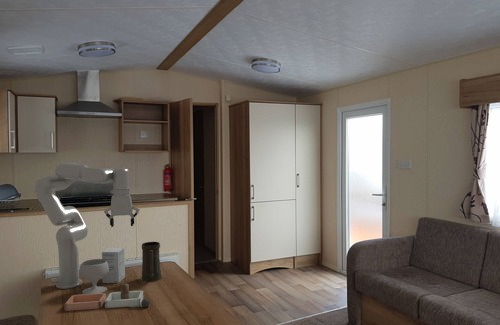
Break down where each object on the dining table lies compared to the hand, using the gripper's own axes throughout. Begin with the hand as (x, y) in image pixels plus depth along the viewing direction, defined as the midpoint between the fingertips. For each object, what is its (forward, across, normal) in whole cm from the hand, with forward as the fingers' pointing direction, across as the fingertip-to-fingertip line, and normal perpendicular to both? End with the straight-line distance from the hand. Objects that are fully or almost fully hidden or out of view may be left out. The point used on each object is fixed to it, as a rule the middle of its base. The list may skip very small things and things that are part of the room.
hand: (122, 226), depth 197 cm
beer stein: (+32, +13, +12) cm, 37 cm away
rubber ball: (+31, +14, -26) cm, 42 cm away
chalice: (+32, -14, -1) cm, 35 cm away
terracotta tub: (+32, -13, -20) cm, 40 cm away
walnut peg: (+32, +4, -20) cm, 38 cm away
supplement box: (+32, -8, +16) cm, 37 cm away
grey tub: (+32, +4, -20) cm, 38 cm away
